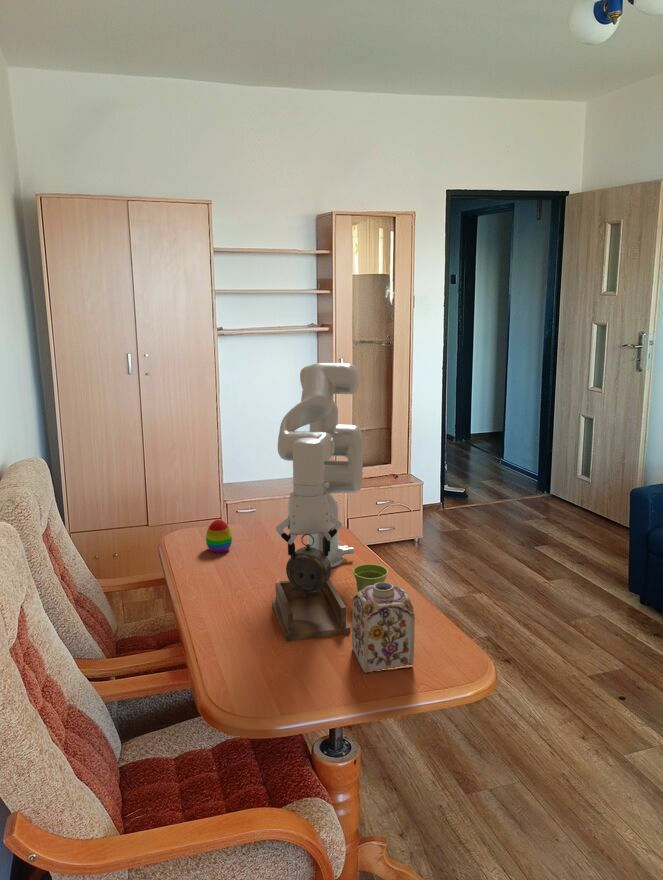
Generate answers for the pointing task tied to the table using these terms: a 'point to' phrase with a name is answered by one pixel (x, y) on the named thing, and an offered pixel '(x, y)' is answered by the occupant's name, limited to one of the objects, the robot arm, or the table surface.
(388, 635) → the decorative jar
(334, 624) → the wooden tray
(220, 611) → the table surface
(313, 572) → the alarm clock
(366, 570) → the plant pot
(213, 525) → the decorative egg
